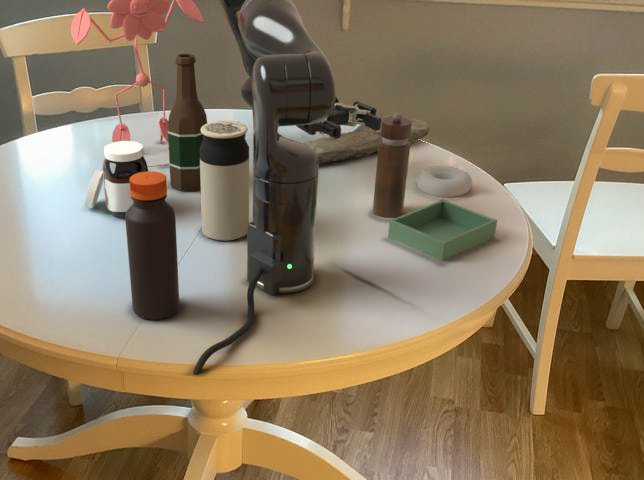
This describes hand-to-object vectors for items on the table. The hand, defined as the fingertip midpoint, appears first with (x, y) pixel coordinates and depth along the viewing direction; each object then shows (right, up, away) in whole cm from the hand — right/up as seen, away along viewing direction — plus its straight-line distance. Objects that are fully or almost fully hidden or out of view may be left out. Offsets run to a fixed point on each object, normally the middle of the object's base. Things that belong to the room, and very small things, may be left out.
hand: (359, 129), depth 149 cm
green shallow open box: (+12, -21, -10) cm, 26 cm away
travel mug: (-24, -19, -5) cm, 31 cm away
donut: (+17, -9, +8) cm, 21 cm away
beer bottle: (-30, -7, +13) cm, 34 cm away
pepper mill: (+5, -15, -1) cm, 16 cm away
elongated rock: (+5, +3, +27) cm, 27 cm away
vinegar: (-34, -34, -26) cm, 55 cm away
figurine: (-39, +1, +26) cm, 47 cm away
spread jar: (-43, -14, +4) cm, 45 cm away
